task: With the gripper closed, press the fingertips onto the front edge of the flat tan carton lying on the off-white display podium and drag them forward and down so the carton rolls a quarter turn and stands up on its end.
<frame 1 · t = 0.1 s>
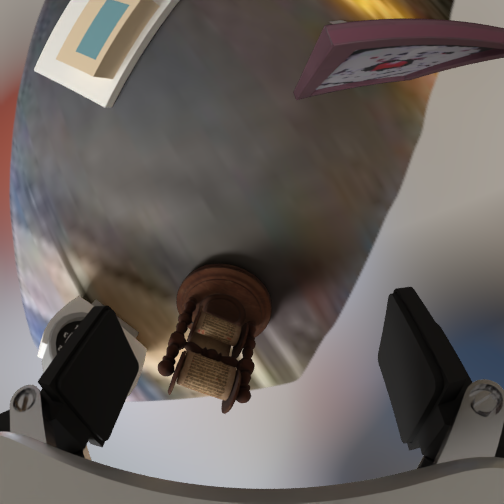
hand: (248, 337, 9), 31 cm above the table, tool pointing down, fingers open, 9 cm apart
display podium: (102, 29, 29), on the table
carton: (114, 33, 28), point 2 cm above the table, touching display podium
alarm clock: (112, 322, 51), on the table
picture frame: (345, 53, 30), on the table
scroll: (225, 299, 47), on the table
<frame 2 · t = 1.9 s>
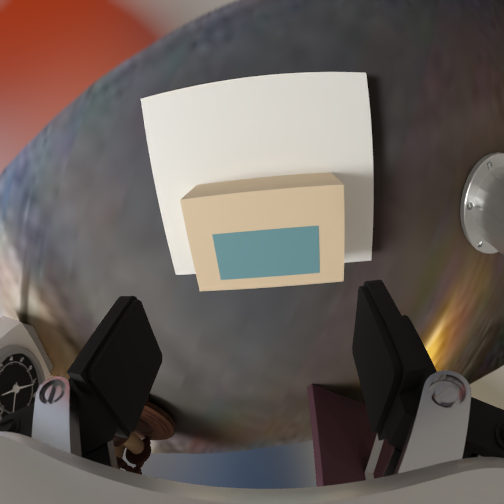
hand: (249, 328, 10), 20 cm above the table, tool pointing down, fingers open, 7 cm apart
display podium: (263, 173, 27), on the table
carton: (267, 220, 27), point 2 cm above the table, touching display podium
alarm clock: (35, 344, 42), on the table
picture frame: (367, 384, 39), on the table
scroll: (140, 409, 46), on the table
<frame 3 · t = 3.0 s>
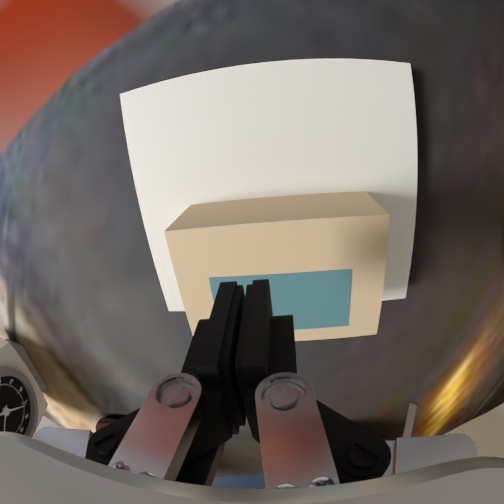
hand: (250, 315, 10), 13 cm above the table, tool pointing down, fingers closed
display podium: (277, 189, 21), on the table
carton: (281, 251, 21), point 2 cm above the table, touching display podium
alarm clock: (26, 362, 38), on the table
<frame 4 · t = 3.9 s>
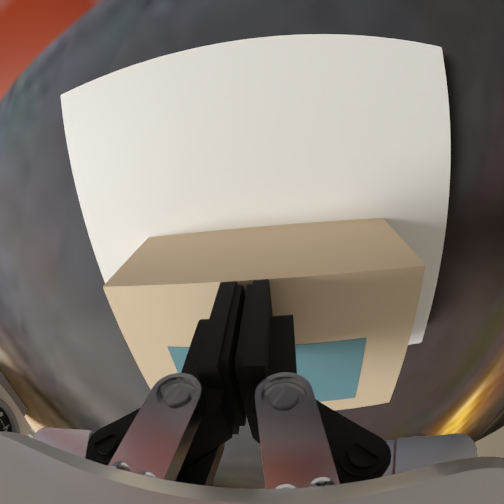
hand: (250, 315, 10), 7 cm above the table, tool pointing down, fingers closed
display podium: (263, 213, 16), on the table
carton: (269, 295, 16), point 2 cm above the table, touching display podium, gripper
alarm clock: (6, 385, 32), on the table
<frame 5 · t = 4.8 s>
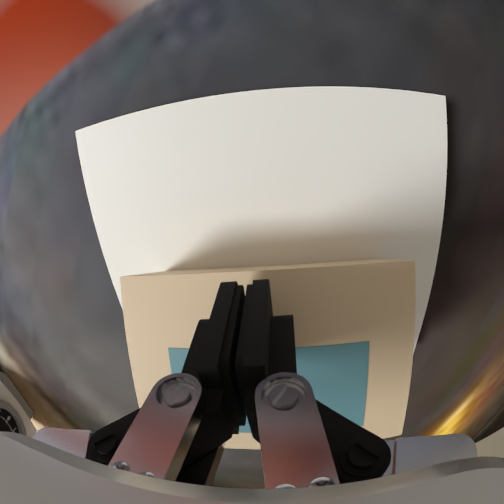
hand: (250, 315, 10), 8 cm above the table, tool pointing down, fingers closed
display podium: (270, 249, 18), on the table
carton: (273, 337, 16), point 4 cm above the table, tilted 26°, touching display podium, gripper
alarm clock: (13, 390, 33), on the table
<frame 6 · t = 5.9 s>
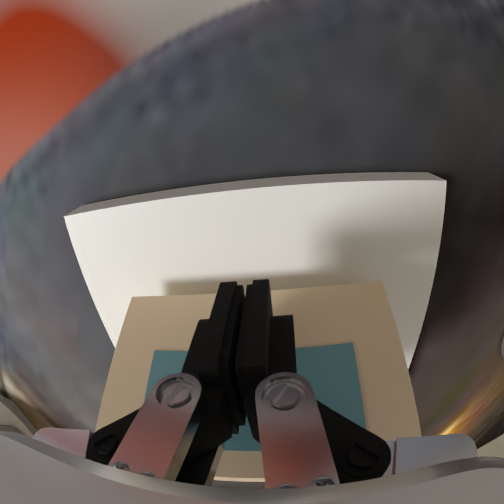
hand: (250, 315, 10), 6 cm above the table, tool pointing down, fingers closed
display podium: (262, 323, 18), on the table
carton: (261, 410, 14), point 6 cm above the table, tilted 73°, touching display podium
alarm clock: (19, 414, 33), on the table
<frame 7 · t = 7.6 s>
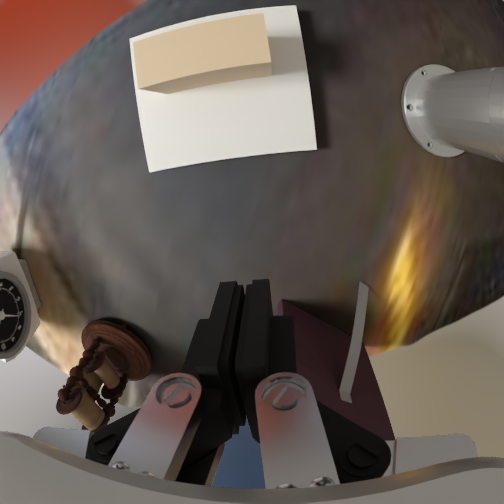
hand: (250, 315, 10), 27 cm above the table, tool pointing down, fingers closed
display podium: (220, 85, 30), on the table
carton: (210, 78, 25), point 6 cm above the table, tilted 90°, touching display podium
alarm clock: (26, 281, 46), on the table
picture frame: (341, 305, 42), on the table
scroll: (119, 345, 50), on the table
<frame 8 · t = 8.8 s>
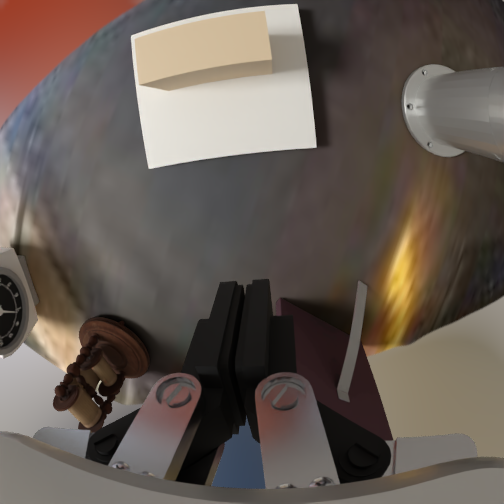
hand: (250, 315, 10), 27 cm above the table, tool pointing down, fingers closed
display podium: (221, 82, 30), on the table
carton: (211, 75, 25), point 6 cm above the table, tilted 90°, touching display podium
alarm clock: (24, 277, 46), on the table
picture frame: (339, 304, 42), on the table
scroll: (117, 342, 50), on the table
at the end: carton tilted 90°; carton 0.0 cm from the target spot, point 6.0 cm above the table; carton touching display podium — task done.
